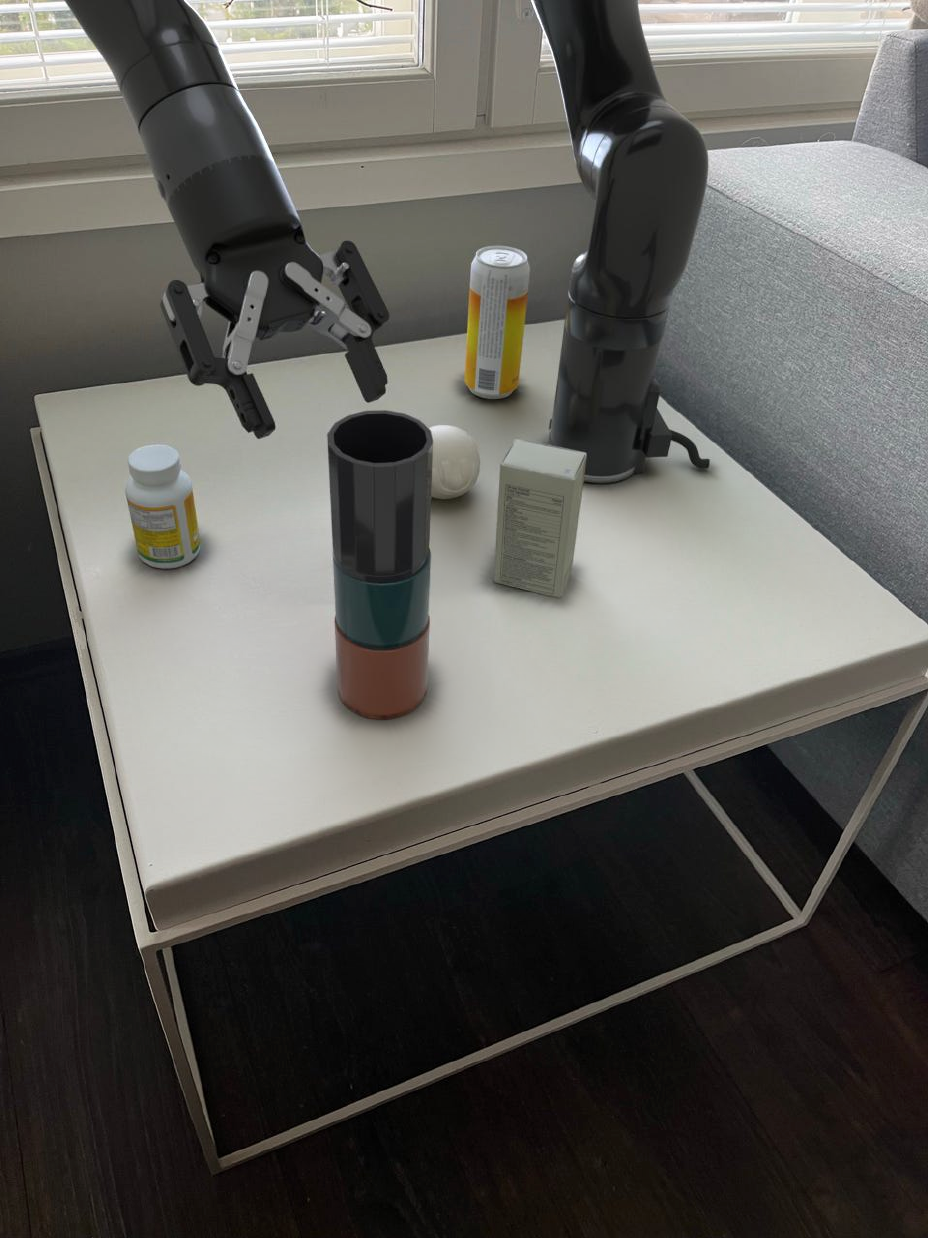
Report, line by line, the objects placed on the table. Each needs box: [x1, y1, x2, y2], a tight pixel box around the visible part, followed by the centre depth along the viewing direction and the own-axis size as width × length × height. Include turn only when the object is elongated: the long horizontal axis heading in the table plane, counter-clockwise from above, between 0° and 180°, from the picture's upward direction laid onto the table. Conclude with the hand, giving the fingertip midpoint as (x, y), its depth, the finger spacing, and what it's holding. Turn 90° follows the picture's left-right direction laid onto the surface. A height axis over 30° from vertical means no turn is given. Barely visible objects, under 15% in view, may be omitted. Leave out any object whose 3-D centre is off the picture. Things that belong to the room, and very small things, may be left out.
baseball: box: [428, 424, 481, 500], centre depth 91 cm, size 7×7×7 cm
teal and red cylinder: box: [332, 547, 432, 720], centre depth 70 cm, size 7×7×13 cm
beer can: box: [463, 245, 531, 400], centre depth 104 cm, size 6×6×15 cm
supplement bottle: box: [124, 444, 202, 570], centre depth 82 cm, size 5×5×10 cm
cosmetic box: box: [492, 438, 587, 598], centre depth 81 cm, size 6×4×12 cm
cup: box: [326, 409, 433, 583], centre depth 62 cm, size 6×6×9 cm
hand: (324, 415), depth 64 cm, fingers open, 8 cm apart
